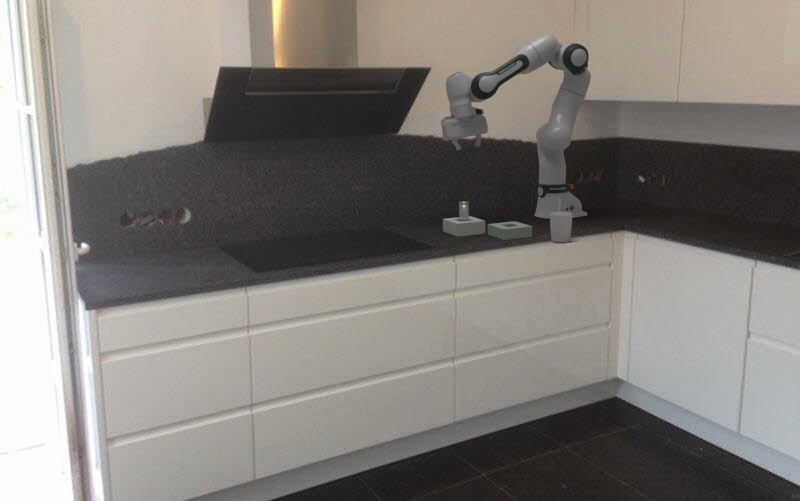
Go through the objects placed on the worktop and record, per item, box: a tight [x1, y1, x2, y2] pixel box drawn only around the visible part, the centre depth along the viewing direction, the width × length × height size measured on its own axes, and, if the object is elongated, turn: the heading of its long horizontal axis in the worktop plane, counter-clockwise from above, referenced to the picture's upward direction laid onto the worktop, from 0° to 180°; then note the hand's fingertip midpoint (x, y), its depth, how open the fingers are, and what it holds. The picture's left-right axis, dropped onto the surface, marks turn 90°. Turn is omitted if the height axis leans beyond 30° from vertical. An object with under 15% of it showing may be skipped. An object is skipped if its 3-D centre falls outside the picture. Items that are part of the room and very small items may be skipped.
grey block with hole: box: [442, 215, 486, 238], centre depth 288 cm, size 12×12×5 cm
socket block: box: [487, 220, 533, 241], centre depth 280 cm, size 12×12×4 cm
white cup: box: [549, 212, 573, 244], centre depth 268 cm, size 8×8×10 cm
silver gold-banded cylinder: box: [458, 200, 470, 222], centre depth 287 cm, size 4×4×12 cm
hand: (468, 148), depth 299 cm, fingers open, 8 cm apart
